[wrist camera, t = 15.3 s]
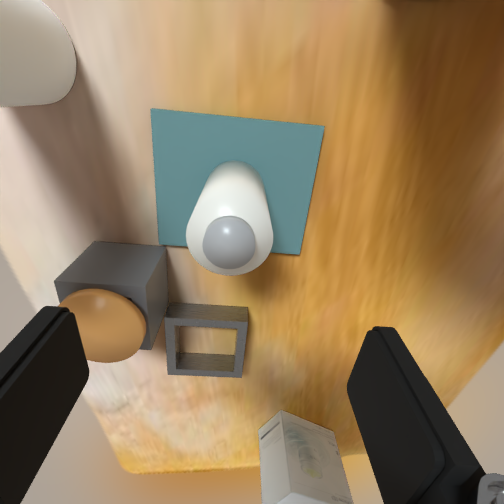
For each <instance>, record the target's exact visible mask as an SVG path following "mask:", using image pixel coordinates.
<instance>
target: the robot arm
mask: <svg viewBox="0 0 504 504" xmlns="http://www.w3.org/2000/svg"><path fill="white" fill-rule="evenodd" d="M88 377H89V367H88V364H87V360H86V356H85V352H84V348H83V344H82V340H81V337H80V333H79V329H78V325H77V321H76V317H75V314H74V313H73V312H70V310H69V309H68V308H67V307H56V306H45V307H43V308H42V309H41V310H40V311H39V312H38V313H37V314H36V315H35V316H34V318H33V319H32V320H31V321H30V322H29V323H28V324H27V325H26V326H25V327H24V329H22V330H21V332H20V333H19V334H18V335H17V336H16V337H15V338H14V339H13V340H12V341H11V342H10V343H9V344H8V345H7V346H6V348H5V349H4V350H3V351H2V352H1V353H0V504H20V503H21V501H22V499H23V498H24V496H25V494H26V493H27V491H28V489H29V487H30V485H31V483H32V482H33V479H34V478H35V476H36V474H37V472H38V470H39V469H40V467H41V465H42V463H43V461H44V459H45V458H46V456H47V454H48V452H49V450H50V449H51V447H52V445H53V443H54V441H55V439H56V438H57V436H58V434H59V432H60V430H61V428H62V427H63V425H64V423H65V421H66V419H67V417H68V416H69V414H70V412H71V410H72V408H73V407H74V405H75V403H76V401H77V399H78V397H79V395H80V394H81V392H82V390H83V388H84V386H85V385H86V383H87V381H88ZM347 393H348V396H349V399H350V402H351V405H352V408H353V412H354V415H355V418H356V421H357V424H358V427H359V430H360V433H361V436H362V439H363V442H364V445H365V448H366V451H367V454H368V457H369V460H370V463H371V466H372V469H373V472H374V475H375V478H376V481H377V484H378V487H379V490H380V493H381V496H382V499H383V502H384V504H504V475H500V474H497V473H492V474H486V473H485V472H484V470H483V468H482V467H481V465H480V464H479V462H478V460H477V459H476V457H475V456H474V454H473V453H472V451H471V449H470V448H469V446H468V444H467V443H466V441H465V440H464V438H463V436H462V435H461V434H460V431H459V430H458V428H457V427H456V425H455V424H454V422H453V420H452V419H451V417H450V415H449V414H448V413H447V411H446V409H445V407H444V406H443V404H442V402H441V401H440V399H439V398H438V396H437V394H436V393H435V391H434V390H433V388H432V386H431V385H430V383H429V382H428V380H427V378H426V377H425V376H424V374H423V373H422V371H421V370H420V368H419V366H418V365H417V363H416V362H415V360H414V358H413V357H412V355H411V353H410V352H409V350H408V349H407V347H406V345H405V344H404V342H403V341H402V339H401V337H400V336H399V334H398V332H397V331H396V330H395V328H393V327H379V326H375V327H373V329H372V330H369V331H368V332H367V334H366V336H365V339H364V341H363V344H362V347H361V349H360V352H359V354H358V357H357V360H356V362H355V365H354V367H353V370H352V372H351V375H350V378H349V380H348V383H347Z"/></svg>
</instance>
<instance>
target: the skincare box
mask: <svg viewBox="0 0 504 504" xmlns="http://www.w3.org/2000/svg"><path fill="white" fill-rule="evenodd" d="M258 436H259V451H260V470H261V471H260V472H261V494H262V504H353V500H352V496H351V493H350V489H349V486H348V482H347V478H346V475H345V471H344V468H343V464H342V460H341V457H340V453H339V449H338V446H337V442H336V438H335V435H334V432H333V431H331V430H329V429H326V428H324V427H321V426H319V425H317V424H314V423H312V422H310V421H307V420H305V419H302V418H300V417H298V416H295V415H293V414H291V413H288V412H286V411H284V410H280V411H279V412H278V413H277V414H276V415H275V416H274V417H272V418H271V419H270V420H269V421H268V422H267V423H266V424H265V425H263V426H262V427H261V428H260V429H259V430H258Z"/></svg>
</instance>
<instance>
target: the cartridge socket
mask: <svg viewBox="0 0 504 504" xmlns="http://www.w3.org/2000/svg"><path fill="white" fill-rule="evenodd" d="M164 321H165V337H166V354H167V370H168V375H189V376H212V377H236V378H242V370H243V361H244V352H245V344H246V335H247V326H248V307H237V306H220V305H203V304H186V303H169V306H168V308H167V311H166V314H165V317H164ZM179 326H197V327H215V328H234V329H237V333H236V344H235V355H219V354H198V353H180V332H179Z"/></svg>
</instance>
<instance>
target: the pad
mask: <svg viewBox="0 0 504 504" xmlns="http://www.w3.org/2000/svg"><path fill="white" fill-rule="evenodd" d="M151 125H152V141H153V156H154V172H155V188H156V204H157V220H158V236H159V244H161V245H175V246H187V241H186V229H187V225H188V222H189V220H190V217H191V215H192V213H193V211H194V208H195V206H196V204H197V202H198V199H199V197H200V195H201V193H202V190H203V188H204V186H205V184H206V181H207V179H208V177H209V175H210V173H211V172H212V171H213V170H214V168H215V167H217V166H218V165H220V164H222V163H224V162H227V161H233V160H234V161H242V162H245V163H247V164H249V165H251V166H252V167H254V168H255V169H256V170H257V171H258V173H259V174H260V176H261V178H262V180H263V184H264V189H265V194H266V199H267V204H268V210H269V215H270V220H271V225H272V230H273V244H272V248H271V251H270V252H272V253H286V254H300V250H301V245H302V240H303V234H304V229H305V224H306V219H307V214H308V209H309V204H310V199H311V194H312V188H313V183H314V178H315V173H316V168H317V163H318V158H319V153H320V148H321V142H322V137H323V132H324V127H325V126H320V125H310V124H300V123H290V122H281V121H271V120H261V119H251V118H241V117H231V116H222V115H212V114H202V113H192V112H182V111H173V110H163V109H153V108H152V109H151Z"/></svg>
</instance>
